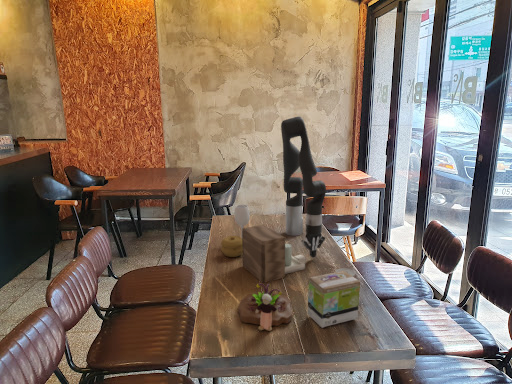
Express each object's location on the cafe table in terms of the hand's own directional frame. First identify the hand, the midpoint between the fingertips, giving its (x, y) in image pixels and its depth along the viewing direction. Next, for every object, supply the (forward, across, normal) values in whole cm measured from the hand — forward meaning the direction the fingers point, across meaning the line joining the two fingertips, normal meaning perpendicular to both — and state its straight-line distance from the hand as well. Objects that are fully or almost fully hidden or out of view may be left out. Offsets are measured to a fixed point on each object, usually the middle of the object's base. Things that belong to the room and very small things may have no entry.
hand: (312, 256), depth 181 cm
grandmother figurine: (+2, +48, +39) cm, 61 cm away
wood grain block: (+2, +28, 0) cm, 28 cm away
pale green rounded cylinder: (0, +16, 0) cm, 16 cm away
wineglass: (+2, +20, -36) cm, 42 cm away
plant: (+2, +43, +29) cm, 51 cm away
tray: (+2, +16, 0) cm, 16 cm away
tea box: (+2, +24, +44) cm, 50 cm away
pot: (+2, +31, -24) cm, 40 cm away
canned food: (+2, +12, +36) cm, 38 cm away
